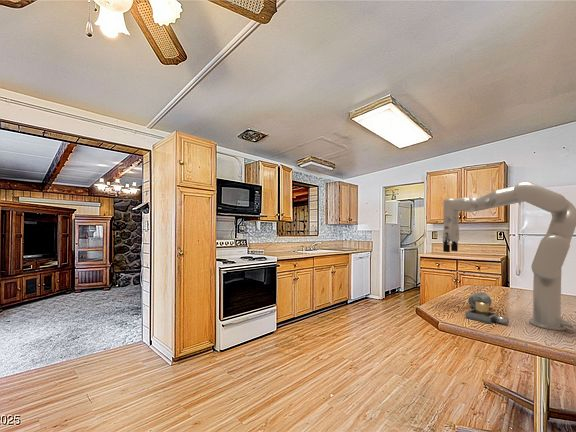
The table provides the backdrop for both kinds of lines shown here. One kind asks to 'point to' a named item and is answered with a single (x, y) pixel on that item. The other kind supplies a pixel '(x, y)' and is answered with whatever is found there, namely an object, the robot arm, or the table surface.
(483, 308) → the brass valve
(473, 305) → the grey-teal rounded cylinder
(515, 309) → the table surface
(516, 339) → the table surface
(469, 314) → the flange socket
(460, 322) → the table surface
